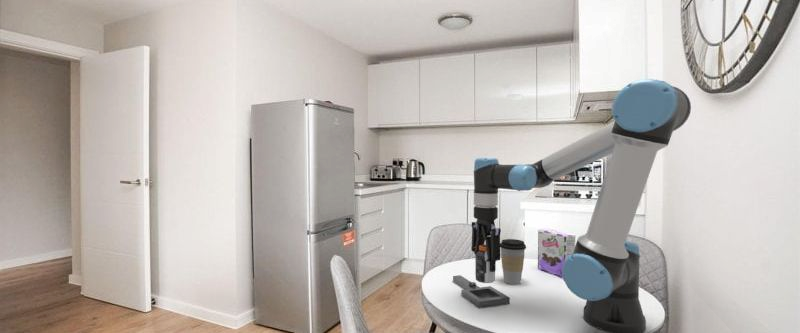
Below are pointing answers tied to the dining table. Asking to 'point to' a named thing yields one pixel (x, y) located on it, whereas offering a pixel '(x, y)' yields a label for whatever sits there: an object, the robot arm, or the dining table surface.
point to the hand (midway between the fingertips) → (484, 277)
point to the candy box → (554, 250)
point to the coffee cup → (512, 260)
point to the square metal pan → (480, 293)
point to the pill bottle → (481, 264)
